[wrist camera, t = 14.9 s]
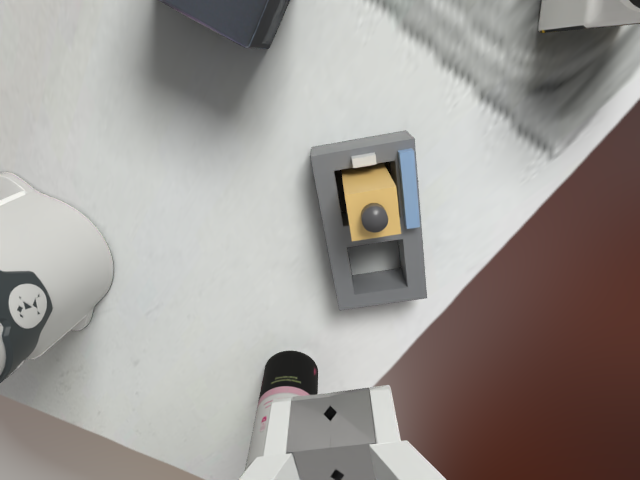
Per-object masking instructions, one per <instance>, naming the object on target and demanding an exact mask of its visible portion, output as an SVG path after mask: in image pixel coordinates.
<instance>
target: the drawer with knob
mask: <svg viewBox="0 0 640 480" xmlns="http://www.w3.org/2000/svg"><path fill="white" fill-rule="evenodd" d="M341 172H342V179H343V187H344V194H345V201H346V207H347V213H348V219H349V226H350V232H351V238H352V241H358V240H364V239H371V238H377V237H384V236H390V235H397V234H401V227H400V217H399V208H398V198H397V188H396V185H395V183H394V181H393V180H392V178H391V176H390V174H389V172H388V170H387V169H386V167H385V165H384V163H377V164H375V165H369V166H363V167H358V168H347V169H342V170H341Z"/></svg>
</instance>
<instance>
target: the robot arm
mask: <svg viewBox="0 0 640 480" xmlns="http://www.w3.org/2000/svg"><path fill="white" fill-rule="evenodd" d="M112 279H113V260H112V255H111V252H110V250H109V247H108V245H107V243H106V241H105V239H104V237H103V236H102V234H101V233H100V232H99V230H98V229H97V228H96V227H95V225H94V224H93V223H92V222H91V221H90V220H89V219H88V218H87V217H85V216H84V215H83V214H82V213H80V212H79V211H78V210H76V209H75V208H73V207H72V206H70V205H68V204H66V203H64V202H62V201H60V200H58V199H55V198H53V197H50V196H48V195H45V194H43V193H40V192H38V191H37V190H35V189H34V188H33V187H31V186H30V185H29V184H28V183H26V182H25V181H24V180H22V179H21V178H20V177H18V176H17V175H15V174H13V173H10V172H3V173H0V383H1V382H2V381H3V380H4V379H6V378H7V377H9V376H10V375H11V374H12V373H14V372H15V371H16V370H17V369H18V368H19V367H20V366H21V365H22V364H23V363H24V360H26V359H31V360H34V359H36V358H38V357H40V356H41V355H42V354H43V353H45V352H46V351H47V350H48V349H49V348H50V347H52V346H53V345H54V344H55V343H56V342H57V341H58V340H60V339H61V338H62V337H63V336H64V335H65V334H66V333H68V332H69V331H79V330H82V329H83V328H85V327H86V326H87V325H88V324H89V323H90V321H91V318H92V314H93V309H94V307H95V305H96V304H97V303H98V302H99V301H100V300H101V299H102V298H103V297H104V296H105V294H106V293H107V291H108V290H109V288H110V285H111V283H112ZM238 480H446V479H445V478H444V477H443V476H442V475H441V474H440V473H439V472H438V471H437V470H436V469H435V468H434V467H433V466H432V465H431V464H430V463H429V462H428V461H427V460H426V459H425V458H424V457H423V456H422V455H421V454H420V453H419V452H418V451H417V450H416V449H415V448H414V447H413V446H412V445H411V444H410V443H409V442H408V441H401V439H400V434H399V429H398V424H397V419H396V413H395V408H394V403H393V398H392V393H391V388H390V386H389V385H385V386H378V387H370V390H369V388H363V389H355V390H348V391H340V392H333V393H327V394H316V395H306V396H296V397H290V398H279V399H273V401H272V403H271V407H270V413H269V420H268V426H267V432H266V438H265V444H264V450H263V456H261V457H256V458H255V460H254V461H253V462H252V463H251V465H250V466H249V467H248V468H247V470H246V471H245V472H244V473H243V474H242V476H241V477H240V478H239V479H238Z"/></svg>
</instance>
